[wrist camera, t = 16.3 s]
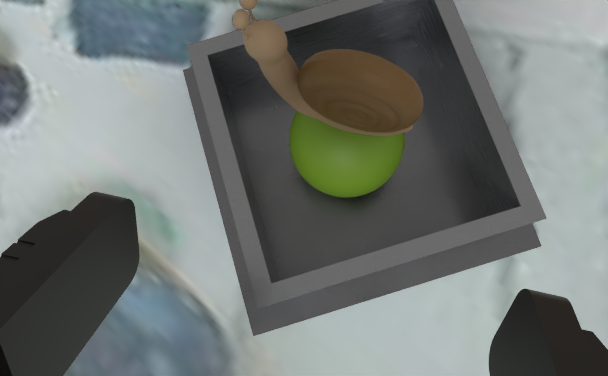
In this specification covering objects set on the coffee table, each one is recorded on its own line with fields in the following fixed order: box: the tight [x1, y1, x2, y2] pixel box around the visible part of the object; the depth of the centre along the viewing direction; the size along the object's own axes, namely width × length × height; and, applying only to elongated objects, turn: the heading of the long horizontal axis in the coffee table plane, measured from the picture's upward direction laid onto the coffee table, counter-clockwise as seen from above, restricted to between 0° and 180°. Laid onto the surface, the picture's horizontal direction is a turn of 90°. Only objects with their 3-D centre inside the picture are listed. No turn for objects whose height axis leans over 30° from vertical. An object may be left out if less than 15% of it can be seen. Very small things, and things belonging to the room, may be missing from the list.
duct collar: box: [183, 0, 546, 336], centre depth 23 cm, size 15×15×5 cm
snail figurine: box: [232, 0, 423, 197], centre depth 18 cm, size 5×6×12 cm
